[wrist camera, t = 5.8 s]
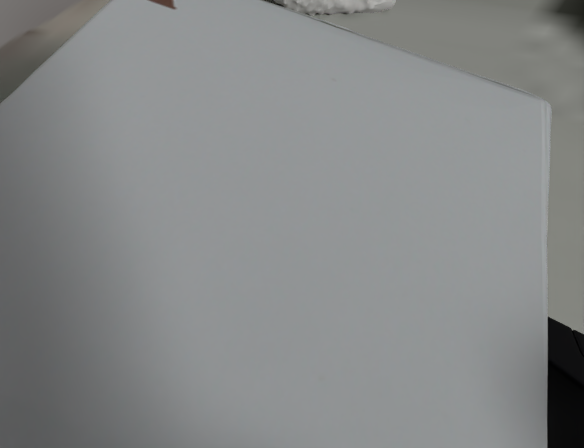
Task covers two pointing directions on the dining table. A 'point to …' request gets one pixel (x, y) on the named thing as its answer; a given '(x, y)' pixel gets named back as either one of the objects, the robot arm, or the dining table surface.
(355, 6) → the sitting furry creature
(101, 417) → the supplement box
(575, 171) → the dining table surface
